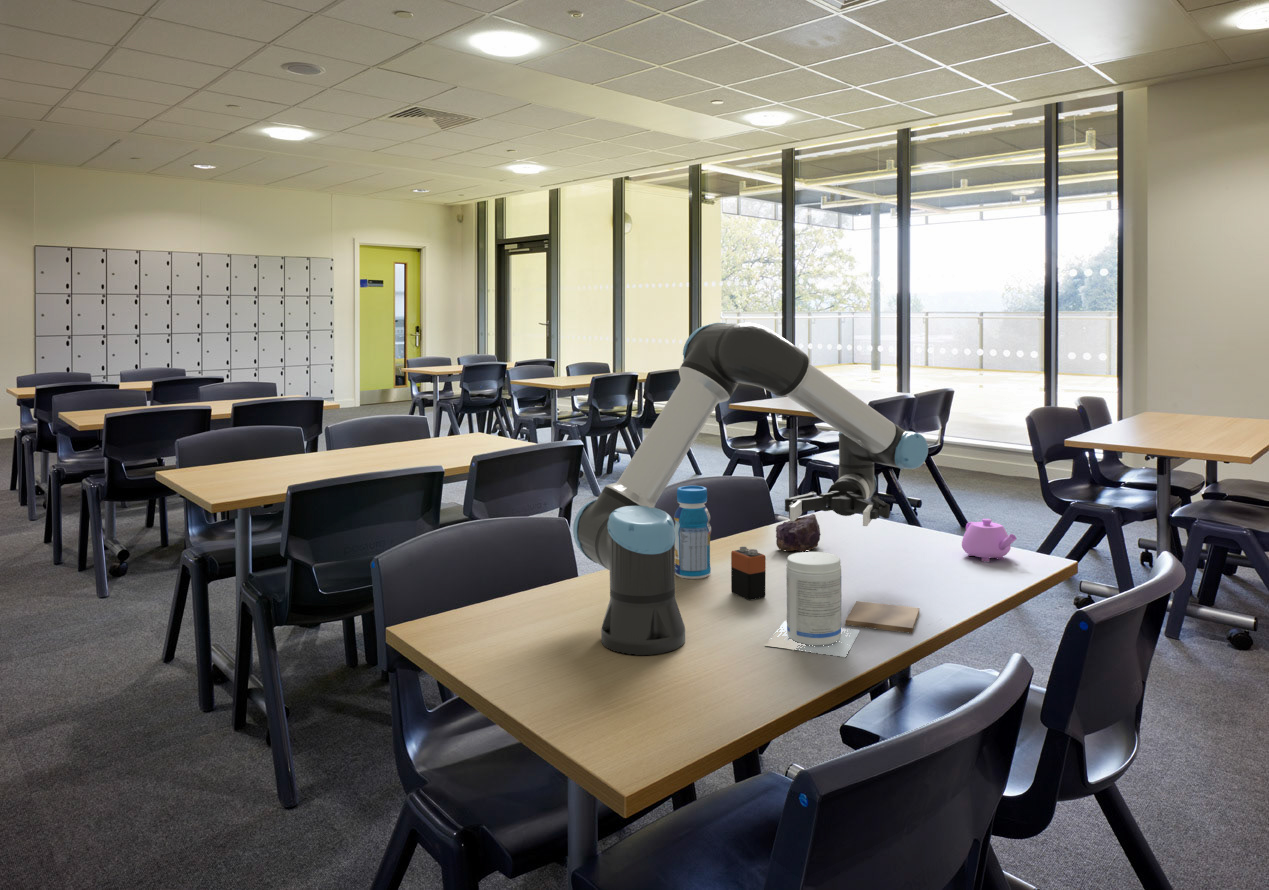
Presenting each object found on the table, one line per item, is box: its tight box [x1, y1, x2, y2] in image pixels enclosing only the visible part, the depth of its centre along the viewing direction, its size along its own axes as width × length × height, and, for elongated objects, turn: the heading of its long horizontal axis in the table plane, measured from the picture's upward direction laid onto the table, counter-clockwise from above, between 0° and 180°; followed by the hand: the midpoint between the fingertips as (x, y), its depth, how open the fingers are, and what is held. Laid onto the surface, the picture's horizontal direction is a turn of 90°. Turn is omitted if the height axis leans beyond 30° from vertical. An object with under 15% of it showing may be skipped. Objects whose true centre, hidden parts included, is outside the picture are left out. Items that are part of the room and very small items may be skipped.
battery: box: [730, 546, 767, 601], centre depth 177 cm, size 4×7×10 cm, turn 28°
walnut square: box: [844, 600, 920, 634], centre depth 162 cm, size 12×12×1 cm
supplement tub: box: [785, 551, 842, 646], centre depth 151 cm, size 10×10×15 cm
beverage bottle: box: [673, 485, 712, 580], centre depth 192 cm, size 8×8×20 cm
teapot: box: [961, 518, 1017, 562], centre depth 202 cm, size 10×15×9 cm
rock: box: [775, 513, 821, 552], centre depth 212 cm, size 12×9×10 cm
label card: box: [770, 620, 861, 658], centre depth 152 cm, size 14×14×1 cm
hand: (827, 516), depth 159 cm, fingers open, 13 cm apart
